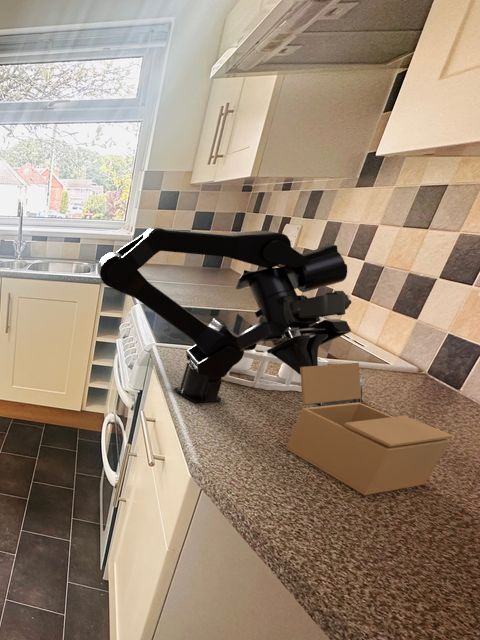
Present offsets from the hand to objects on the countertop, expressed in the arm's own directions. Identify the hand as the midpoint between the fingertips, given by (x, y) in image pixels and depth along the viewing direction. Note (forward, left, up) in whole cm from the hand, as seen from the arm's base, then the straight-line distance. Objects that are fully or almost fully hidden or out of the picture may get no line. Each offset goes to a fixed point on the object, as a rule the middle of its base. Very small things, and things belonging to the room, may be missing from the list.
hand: (313, 380), depth 69 cm
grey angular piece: (-8, +21, -10) cm, 25 cm away
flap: (+3, 0, +1) cm, 3 cm away
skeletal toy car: (-20, +15, -10) cm, 27 cm away
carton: (+10, 0, -10) cm, 14 cm away
